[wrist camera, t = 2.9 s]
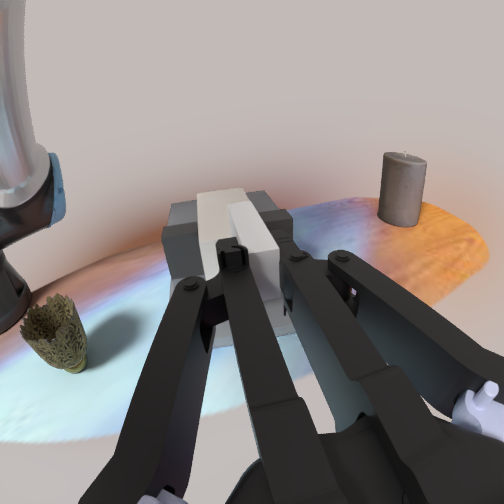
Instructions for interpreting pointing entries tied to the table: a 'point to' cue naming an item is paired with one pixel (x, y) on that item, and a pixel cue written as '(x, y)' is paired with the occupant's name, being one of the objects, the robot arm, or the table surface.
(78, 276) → the table surface
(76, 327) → the cup
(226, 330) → the guide
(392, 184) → the pillar candle
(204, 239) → the peg
